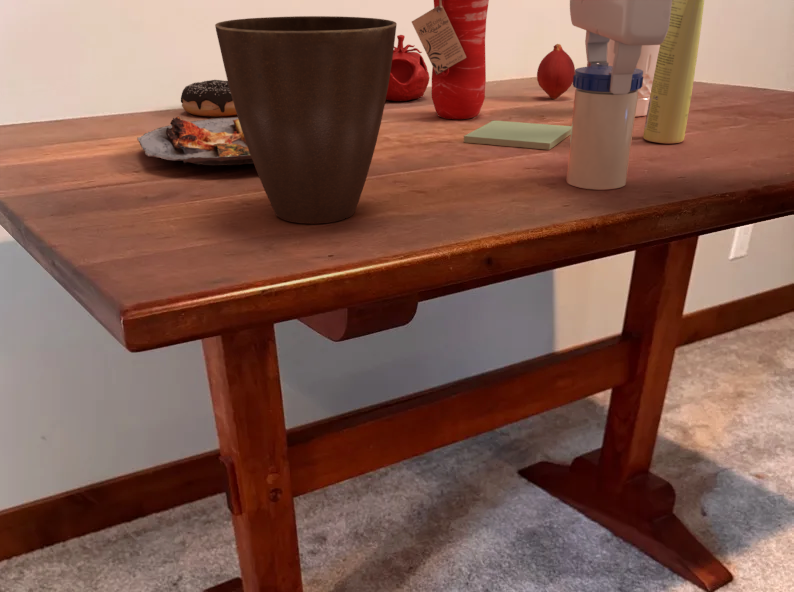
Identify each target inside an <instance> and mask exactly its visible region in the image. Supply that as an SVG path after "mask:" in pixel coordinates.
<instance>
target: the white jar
mask: <svg viewBox="0 0 794 592" xmlns="http://www.w3.org/2000/svg"><path fill="white" fill-rule="evenodd" d="M637 98H638V90H634V91H629V93H627V94H620V95H614V94H613V93H611V92H596V91H587V90H581V89H577V88H575V90H574V98H573V107H572V117H571V119H572V120H571V126H572V128H571V134H570V141H569V151H568V161H567V172H566V179H565V181H566V183H567V184H568V185H570V186H572V187H575V188H580V189H584V190H586V189H587V190H594V191H595V190H596V191H606V190H607V191H608V190H615V189H619V188H623V187H624V186H626V184H627V180H628V179H627V178H628V171H629V165H630V157H631V150H632V142H633V136H634V135H633V134H634V129H635V119H636V117H635V113H636V106H637Z"/></svg>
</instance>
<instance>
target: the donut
mask: <svg viewBox="0 0 794 592" xmlns="http://www.w3.org/2000/svg"><path fill="white" fill-rule="evenodd" d="M180 103H181V106H182V108H183V110H184V111H185V112H187V113H189V114H191V115H194V116H197V117H199V116H200V117H211V118H221V117H233V116H237V113H236V109H235V106H234V102H233V99H232V95H231V92H230V88H229V84H228V80H223V79H211V80H210V79H209V80H204V81H198V82H193V83H191V84H188V85H186V86H185V87H184V88H183V90H182V92H181V95H180Z"/></svg>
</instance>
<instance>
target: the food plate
mask: <svg viewBox="0 0 794 592" xmlns="http://www.w3.org/2000/svg"><path fill="white" fill-rule="evenodd" d="M136 141H138V143H139V145H140V147H141V149H142V151H144V154H145V156H147V157H154V158H161V159H162V160H163V159H164V160H167V161H172V162H176V161H181V162H183V164H187V163H192V164H195V165H199V166H200V165H204V166H240V165H248V164H249V165H250V164H251V165H254V163H253V160H252V157H251V155H250V152H249V149H248V146H247V143H246V141H245V138H244V135H243V132H242V129H241V126H240V122H239V119H238V116H236V117H213V118H207V119H196V120H191V121H186V120H184V119H181V117H180V116H176V117H175V118H174V117H173V118H172V119H171V121H170V125H165V126H161V127H157V128H155V129H153V130H150V131H147V132H145V133H144V134H143V135H141V136H139V137H137V138H136Z"/></svg>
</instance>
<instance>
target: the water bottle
mask: <svg viewBox="0 0 794 592" xmlns="http://www.w3.org/2000/svg"><path fill="white" fill-rule="evenodd" d="M489 2H490V0H433V8H432V9H430V10H429V11H427V12H425V13H423V14H422V15H420V16H419V17H417V18H415V19H413V20H411V24H412V26H413V28H414V30H415V32H416V34H417V36H418V39H419V41H420V43H421V45H422V47H423V49H424V51H425V53H426V55H427V58H428V60H429V62H430V64H431V66H432V71H431V99H432V102H433V107H434V110H435V113H436V114H437V116H438V117H439V118H441V119H445V120H470V119H473V118H476V117H477V116H479V114H480V112H481V110H482V107H483V104H484V102H485V97H486V84H487V83H486V82H487V81H486V80H487V77H486V75H487V73H486V72H487V71H486V69H487V68H486V67H487V65H486V64H487V63H486V34H487V33H486V31H487V30H486V29H487V17H488V10H489Z"/></svg>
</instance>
